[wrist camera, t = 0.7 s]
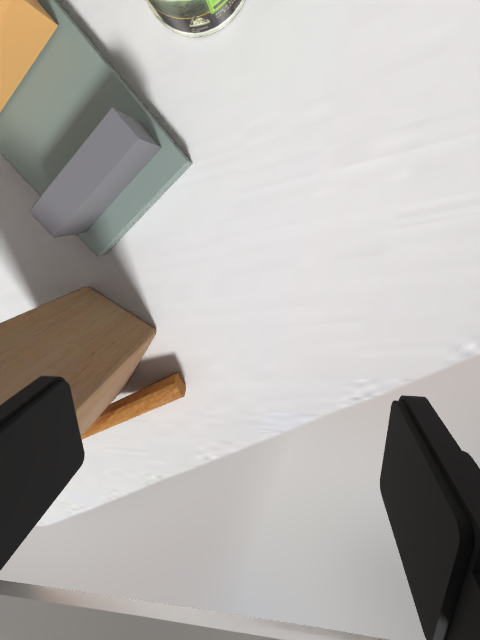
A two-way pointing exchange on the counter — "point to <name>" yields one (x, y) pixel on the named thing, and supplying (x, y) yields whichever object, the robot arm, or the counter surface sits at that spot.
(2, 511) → the robot arm
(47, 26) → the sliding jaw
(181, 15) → the coffee can
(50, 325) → the wooden block
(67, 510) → the counter surface
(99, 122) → the vise
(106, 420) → the hammer
